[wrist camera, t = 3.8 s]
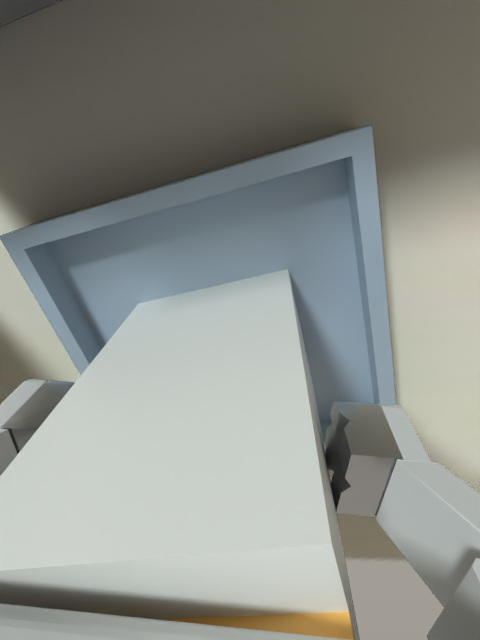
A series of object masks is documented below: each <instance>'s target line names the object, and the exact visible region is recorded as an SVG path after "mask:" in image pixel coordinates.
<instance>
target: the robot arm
mask: <svg viewBox="0 0 480 640" xmlns="http://www.w3.org/2000/svg"><path fill="white" fill-rule="evenodd" d="M73 385H74V383H73V382H62V381H52V380H50V381H47V380H37V379H29V380H26V381H24V382H23V383H22V384H20V385H19V386H18V387H17V388H16V389H15V390H14V391H13V392H12V393H11V394H10V395H9V396H8V397H7V398H6V399H5V400H4V401H3V402H2V403H1V404H0V476H1V475H2V473H3V472H4V471H5V470H6V468H7V467H8V466H9V465H10V463H11V462H12V461H13V460H14V458H15V457H16V456H17V455H18V453H19V452H20V451H21V450H22V448H23V447H24V446H25V445H26V443H27V442H28V441H29V440H30V438H31V437H32V436H33V435H34V433H35V432H36V431H37V430H38V428H39V427H40V426H41V425H42V423H43V422H44V421H45V420H46V418H47V417H48V416H49V415H50V413H51V412H52V411H53V410H54V408H55V407H56V406H57V405H58V403H59V402H60V401H61V400H62V398H63V397H64V396H65V395H66V393H67V392H68V391H69V390H70V388H71V387H72V386H73ZM330 415H331V420H332V425H330V426H329V427H328V428H327V433H326V441H325V454H326V460H327V465H328V469H329V470H330V471H331V473H332V474H333V477H332V482H331V487H332V492H333V498H334V503H335V508H336V513H339V514H348V515H357V516H366V517H375V518H376V521H377V522H378V523H379V525H380V526H381V527H382V529H383V530H384V531H385V532H386V534H387V535H388V536H389V538H390V539H391V540H392V541H393V543H394V544H395V545H396V546H397V548H398V549H399V550H400V552H401V553H402V554H403V555H404V557H405V558H406V559H407V561H408V562H409V563H410V564H411V566H412V567H413V568H414V570H415V571H416V572H417V573H418V575H419V576H420V577H421V578H422V580H423V581H424V582H425V584H426V585H427V586H428V587H429V588H430V590H431V591H432V593H433V594H434V595H435V596H436V598H437V599H438V600H439V601H440V603H441V604H442V605H443V607H444V609H443V611H442V613H441V614H440V616H439V617H438V619H437V621H436V622H435V624H434V625H433V627H432V629H431V630H430V632H429V634H428V635H427V637H428V640H480V494H479V493H478V492H476V491H475V490H474V489H472V488H471V487H470V486H469V485H467V484H466V483H465V482H463V481H462V480H461V479H459V478H458V477H457V476H456V475H454V474H453V473H452V472H450V471H449V470H448V469H447V468H445V467H444V466H443V465H441V464H440V463H437V462H431V460H430V458H429V456H428V454H427V452H426V450H425V448H424V446H423V444H422V442H421V441H420V439H419V437H418V435H417V433H416V431H415V429H414V427H413V425H412V423H411V421H410V419H409V418H408V416H407V414H406V412H405V410H404V408H403V407H402V406H401V405H398V404H370V403H354V402H339V401H334V403H333V405H332V408H331V413H330ZM0 640H351V639H341V638H332V637H322V636H312V635H303V634H293V633H283V632H274V631H264V630H254V629H245V628H235V627H225V626H216V625H206V624H196V623H187V622H177V621H167V620H158V619H148V618H138V617H129V616H119V615H109V614H100V613H90V612H80V611H71V610H61V609H51V608H41V607H32V606H22V605H12V604H2V603H0Z"/></svg>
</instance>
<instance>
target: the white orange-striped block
mask: <svg viewBox="0 0 480 640" xmlns="http://www.w3.org/2000/svg"><path fill="white" fill-rule="evenodd" d="M0 603H2V604H12V605H22V606H32V607H41V608H51V609H61V610H71V611H80V612H90V613H100V614H109V615H119V616H129V617H138V618H148V619H158V620H167V621H177V622H187V623H196V624H206V625H216V626H225V627H235V628H245V629H254V630H264V631H274V632H283V633H293V634H303V635H312V636H322V637H332V638H341V639H351V640H360V638H359V633H358V627H357V622H356V617H355V611H354V606H353V600H352V595H351V589H350V585H349V579H348V574H347V568H346V562H345V557H344V551H343V546H342V541H341V535H340V530H339V524H338V519H337V514H336V508H335V503H334V498H333V492H332V487H331V481H330V476H329V470H328V465H327V460H326V454H325V449H324V443H323V438H322V432H321V427H320V422H319V416H318V411H317V405H316V400H315V394H314V389H313V384H312V378H311V373H310V367H309V362H308V358H307V353H306V349H305V344H304V340H303V335H302V330H301V326H300V321H299V317H298V312H297V308H296V303H295V298H294V294H293V289H292V285H291V280H290V276H289V271H288V269H286V270H282V271H277V272H273V273H269V274H264V275H260V276H256V277H251V278H247V279H243V280H239V281H234V282H230V283H226V284H221V285H217V286H213V287H208V288H204V289H200V290H195V291H191V292H187V293H183V294H178V295H174V296H170V297H165V298H161V299H157V300H152V301H148V302H144V303H139V304H138V305H137V306H136V307H135V309H134V310H133V311H132V312H131V314H130V315H129V316H128V317H127V319H126V320H125V321H124V322H123V324H122V325H121V326H120V327H119V329H118V330H117V331H116V332H115V334H114V335H113V336H112V337H111V339H110V340H109V341H108V342H107V344H106V345H105V346H104V347H103V349H102V350H101V351H100V352H99V354H98V355H97V356H96V357H95V359H94V360H93V361H92V362H91V364H90V365H89V366H88V367H87V369H86V370H85V371H84V372H83V373H82V375H81V376H80V377H79V378H78V380H77V381H76V382H75V383H74V385H73V386H72V387H71V388H70V390H69V391H68V392H67V393H66V395H65V396H64V397H63V398H62V400H61V401H60V402H59V403H58V405H57V406H56V407H55V408H54V410H53V411H52V412H51V413H50V415H49V416H48V417H47V418H46V420H45V421H44V422H43V423H42V425H41V426H40V427H39V428H38V430H37V431H36V432H35V433H34V435H33V436H32V437H31V438H30V440H29V441H28V442H27V443H26V445H25V446H24V447H23V448H22V450H21V451H20V452H19V453H18V455H17V456H16V457H15V458H14V460H13V461H12V462H11V463H10V465H9V466H8V467H7V468H6V470H5V471H4V472H3V473H2V475H1V476H0Z"/></svg>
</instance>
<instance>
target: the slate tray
mask: <svg viewBox="0 0 480 640" xmlns="http://www.w3.org/2000/svg"><path fill="white" fill-rule="evenodd" d="M0 239H1V241H2V242H3V244H4V246H5V248H6V249H7V251H8V253H9V254H10V256H11V258H12V259H13V261H14V263H15V264H16V266H17V268H18V270H19V271H20V273H21V275H22V276H23V278H24V280H25V281H26V283H27V285H28V286H29V288H30V290H31V292H32V293H33V295H34V297H35V298H36V300H37V302H38V303H39V305H40V307H41V308H42V310H43V312H44V314H45V315H46V317H47V319H48V320H49V322H50V324H51V325H52V327H53V329H54V330H55V332H56V334H57V336H58V337H59V339H60V341H61V342H62V344H63V346H64V347H65V349H66V351H67V352H68V354H69V356H70V358H71V359H72V361H73V363H74V364H75V366H76V368H77V369H78V371H79V373H80V374H81V375H82V373H83V372H84V371H85V370H86V369H87V367H88V366H89V365H90V364H91V362H92V361H93V360H94V359H95V357H96V356H97V355H98V354H99V352H100V351H101V350H102V349H103V347H104V346H105V345H106V344H107V342H108V341H109V340H110V339H111V337H112V336H113V335H114V334H115V332H116V331H117V330H118V329H119V327H120V326H121V325H122V324H123V322H124V321H125V320H126V319H127V317H128V316H129V315H130V314H131V312H132V311H133V310H134V309H135V307H136V306H137V305H138V304H139V303H144V302H148V301H152V300H157V299H161V298H165V297H170V296H174V295H178V294H183V293H187V292H191V291H195V290H200V289H204V288H208V287H213V286H217V285H221V284H226V283H230V282H234V281H239V280H243V279H247V278H251V277H256V276H260V275H264V274H269V273H273V272H277V271H282V270H286V269H288V271H289V276H290V280H291V285H292V289H293V294H294V298H295V303H296V308H297V312H298V317H299V321H300V326H301V330H302V335H303V340H304V344H305V349H306V353H307V358H308V362H309V367H310V373H311V378H312V384H313V389H314V394H315V400H316V405H317V411H318V416H319V422H320V427H321V432H322V438H323V443H324V449H325V441H326V433H327V428H328V427H329V426H330V425H332V420H331V415H330V413H331V408H332V405H333V403H334V401H339V402H354V403H370V404H396V396H395V385H394V373H393V361H392V350H391V338H390V327H389V315H388V303H387V292H386V280H385V268H384V257H383V245H382V234H381V222H380V210H379V199H378V187H377V175H376V164H375V152H374V140H373V129H372V125H371V126H363V127H356V128H353V129H350V130H346V131H343V132H339V133H336V134H333V135H329V136H326V137H323V138H319V139H316V140H313V141H309V142H306V143H303V144H299V145H296V146H293V147H289V148H286V149H283V150H279V151H276V152H272V153H269V154H266V155H262V156H259V157H256V158H252V159H249V160H246V161H242V162H239V163H236V164H232V165H229V166H226V167H222V168H219V169H216V170H212V171H209V172H205V173H202V174H199V175H195V176H192V177H189V178H185V179H182V180H179V181H175V182H172V183H169V184H165V185H162V186H159V187H155V188H152V189H148V190H145V191H142V192H138V193H135V194H132V195H128V196H125V197H122V198H118V199H115V200H112V201H108V202H105V203H102V204H98V205H95V206H92V207H88V208H85V209H81V210H78V211H75V212H71V213H68V214H65V215H61V216H58V217H55V218H51V219H48V220H45V221H41V222H38V223H35V224H31V225H29V226H26V227H23V228H20V229H18V230H15V231H12V232H9V233H6V234H4V235H1V236H0Z"/></svg>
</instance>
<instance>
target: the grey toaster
mask: <svg viewBox="0 0 480 640" xmlns="http://www.w3.org/2000/svg"><path fill="white" fill-rule="evenodd" d="M58 1H61V0H0V27H1V26H3V25H5V24H8V23H10V22H12V21H14V20H17V19H19V18H21V17H24V16H26V15H28V14H31V13H33V12H35V11H38V10H40V9H42V8H45V7H47V6H49V5H51V4H54V3H56V2H58Z"/></svg>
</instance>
